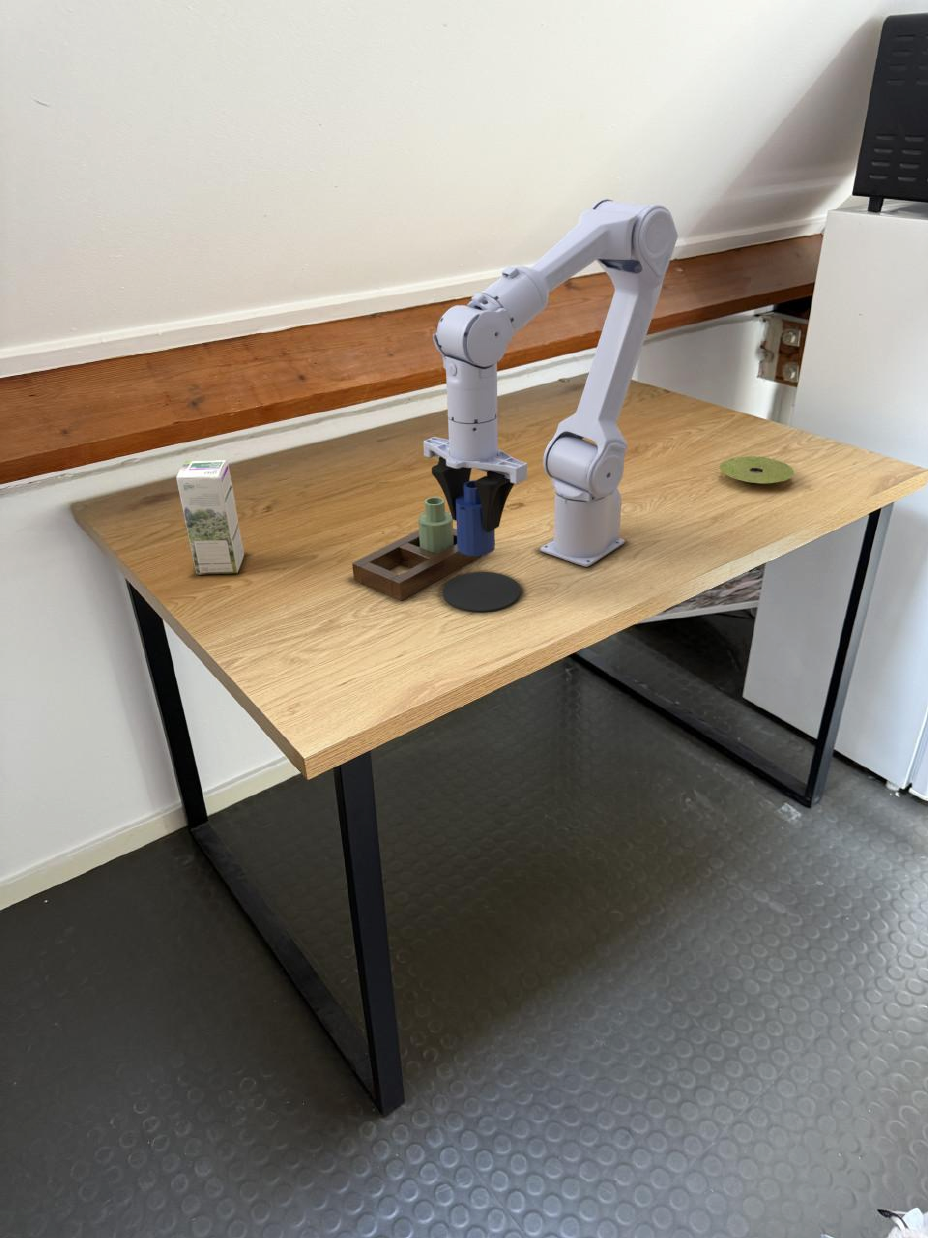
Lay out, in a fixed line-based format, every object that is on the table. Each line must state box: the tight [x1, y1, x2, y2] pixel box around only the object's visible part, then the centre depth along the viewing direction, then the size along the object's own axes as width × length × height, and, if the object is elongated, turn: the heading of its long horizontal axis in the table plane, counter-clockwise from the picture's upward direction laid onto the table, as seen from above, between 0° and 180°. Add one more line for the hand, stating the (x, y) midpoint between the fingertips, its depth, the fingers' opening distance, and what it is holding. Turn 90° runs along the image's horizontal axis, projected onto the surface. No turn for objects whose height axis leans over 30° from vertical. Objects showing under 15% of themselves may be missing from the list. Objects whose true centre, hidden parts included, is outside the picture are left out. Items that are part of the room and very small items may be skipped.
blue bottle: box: [456, 479, 496, 557], centre depth 111 cm, size 5×5×8 cm
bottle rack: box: [351, 527, 481, 601], centre depth 122 cm, size 9×16×3 cm, turn 139°
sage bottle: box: [417, 496, 454, 554], centre depth 123 cm, size 5×5×8 cm
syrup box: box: [175, 459, 245, 576], centre depth 121 cm, size 6×6×14 cm
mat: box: [719, 455, 795, 484], centre depth 144 cm, size 11×11×2 cm
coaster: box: [442, 571, 522, 613], centre depth 116 cm, size 10×10×1 cm
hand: (475, 522), depth 112 cm, fingers closed on blue bottle, 4 cm apart
